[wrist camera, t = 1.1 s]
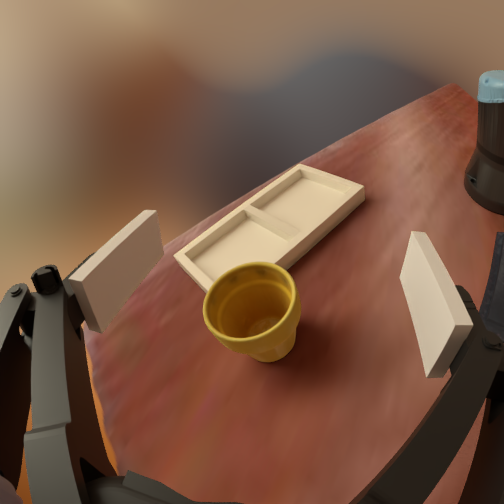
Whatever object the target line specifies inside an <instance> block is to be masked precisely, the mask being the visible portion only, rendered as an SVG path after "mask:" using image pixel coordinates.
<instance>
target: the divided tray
mask: <svg viewBox="0 0 504 504" xmlns="http://www.w3.org/2000/svg"><path fill="white" fill-rule="evenodd" d="M364 200H365V192H364V186H363V185H360V184H357V183H354V182H352V181H349V180H346V179H343V178H341V177H338V176H335V175H332V174H329V173H326V172H323V171H320V170H318V169H315V168H311V167H308V166H305V165H302V164H298V165H297V166H295V167H294V168H292V169H291V170H289V171H288V172H287V173H285V174H284V175H282V176H281V177H279V178H278V179H277V180H275V181H274V182H272V183H271V184H269V185H268V186H267V187H265V188H264V189H262V190H261V191H260V192H258V193H257V194H255V195H254V196H253V197H251V198H250V199H248V200H247V201H246V202H244V203H243V204H242V205H240V206H239V207H237V208H236V209H235V210H233V211H232V212H231V213H229V214H228V215H227V216H225V217H224V218H222V219H221V220H220V221H218V222H217V223H216V224H214V225H213V226H212V227H210V228H209V229H208V230H206V231H205V232H204V233H202V234H201V235H200V236H198V237H197V238H196V239H194V240H193V241H192V242H190V243H189V244H188V245H187V246H185V247H184V248H183V249H181V250H180V251H179V252H177V253H176V254H175V255H173V256H174V257H175V259H176V260H177V262H178V263H179V265H180V266H181V267H182V268H183V270H184V271H185V272H186V273H187V274H188V275H189V276H190V277H191V278H192V279H193V280H194V281H195V282H196V283H197V284H198V285H199V286H200V287H201V288H202V289H203V290H204V292H205V293H206V294H207V292H208V290H209V289H210V287H211V286H212V284H213V283H214V282H215V281H216V280H217V279H218V278H219V277H220V276H221V275H223V274H224V273H225V272H227V271H228V270H230V269H232V268H234V267H236V266H239V265H241V264H245V263H250V262H269V263H273V264H276V265H278V266H280V267H282V268H284V269H285V270H286V271H287V270H288V269H289V268H290V267H291V266H292V265H293V264H295V263H296V262H297V261H298V260H299V259H300V258H301V257H303V256H304V255H305V254H306V253H307V252H308V251H309V250H310V249H312V248H313V247H314V246H315V245H316V244H317V243H318V242H319V241H320V240H322V239H323V238H324V237H325V236H326V235H327V234H328V233H329V232H330V231H332V230H333V229H334V228H335V227H336V226H337V225H338V224H339V223H340V222H341V221H343V220H344V219H345V218H346V217H347V216H348V215H349V214H350V213H351V212H352V211H353V210H355V209H356V208H357V207H358V206H359V205H360V204H361V203H362V202H363V201H364Z"/></svg>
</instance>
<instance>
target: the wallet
mask: <svg viewBox="0 0 504 504" xmlns="http://www.w3.org/2000/svg"><path fill="white" fill-rule="evenodd" d="M479 314H480V316H481V319H482V321H483V323H484V325H485V327H486V329H487V330H488V331H491V332H493V333H495V334H496V335H498V336H499V337H500V339H501V340H502V341H503V343H504V232H497V236H496V241H495V247H494V253H493V259H492V265H491V270H490V275H489V279H488V283H487V287H486V290H485V294H484V298H483V301H482V304H481V307H480V310H479Z"/></svg>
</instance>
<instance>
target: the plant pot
mask: <svg viewBox="0 0 504 504" xmlns="http://www.w3.org/2000/svg"><path fill="white" fill-rule="evenodd" d="M203 316H204V320H205V323H206V325H207V327H208V328H209V330H210V331H211V332H212V333H213V335H214V336H215V337H216V338H217V339H218V340H219V341H220V342H221V343H222V344H223V345H224V346H226V347H227V348H229V349H230V350H232V351H235V352H238V353H242V354H247V355H249V356H251V357H252V358H254V359H256V360H258V361H261V362H273V361H276V360H279V359H281V358H283V357H284V356H286V355H287V354H288V353H289V352H290V350H291V349H292V347H293V345H294V343H295V338H296V327H297V325H298V322H299V320H300V316H301V302H300V297H299V293H298V290H297V287H296V284H295V282H294V280H293V278H292V277H291V275H290V274H289V273H288V272H287V271H286V270H285V269H284V268H282V267H280V266H278V265H276V264H273V263H269V262H250V263H245V264H241V265H239V266H236V267H234V268H232V269H230V270H228V271H227V272H225V273H224V274H223V275H221V276H220V277H219V278H218V279H217V280H216V281H215V282H214V283H213V284H212V286H211V287H210V289H209V290H208V292H207V294H206V297H205V300H204V304H203Z"/></svg>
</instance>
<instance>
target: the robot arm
mask: <svg viewBox="0 0 504 504" xmlns="http://www.w3.org/2000/svg"><path fill="white" fill-rule="evenodd" d="M477 98H478V131H477V145H476V149H475V151H474V153H473V155H472V157H471V159H470V162H469V164H468V166H467V168H466V171H465V178H464V185H465V188H466V191H467V192H468V194H469V195H470V196H471V197H472V198H473V199H474V200H475V201H476V202H477V203H478V204H480V205H481V206H483V207H485V208H486V209H488V210H490V211H493V212H495V213H499V214H502V215H504V71H502V70H495V71H488V72H485V73H483V74H482V75H481V77H480V79H479V94H478V96H477ZM163 255H164V251H163V246H162V240H161V234H160V228H159V222H158V215H157V211H156V210H144V211H143V212H142V213H140V214H139V215H138V216H137V217H136V218H135V219H133V220H132V221H131V222H130V223H129V224H127V225H126V226H125V227H124V228H123V229H122V230H121V231H119V232H118V233H117V234H116V235H115V236H114V237H112V239H110V240H109V241H108V242H107V243H106V244H105V245H104V246H103V247H101V248H100V249H99V250H98V251H97V252H95V253H93V254H91V255H89V256H88V257H87V258H86V259H85V260H84V261H83V263H81V264H80V265H79V266H78V268H75V269H74V270H73V271H72V272H71V273H70V274H69V275H68V276H67V277H66V278H65V279H64V280H63V281H62V280H61V277H60V274H59V272H58V269H57V267H56V266H55V265H46V266H43V267H41V268H39V269H37V270H36V271H35V272H34V273H33V274H32V276H31V279H32V281H33V283H34V286H35V288H36V291H37V292H33V293H32V292H31V293H30V291H29V289H28V286H27V285H26V284H24V283H23V284H22V283H20V284H16V285H15V286H12V287H11V288H10V289H9V290H8V291H7V293H6V294H5V296H4V298H3V300H2V302H1V303H0V504H23V501H22V499H21V498H20V497H19V496H18V495H16V490H17V486H18V482H19V478H20V473H21V465H22V457H23V448H24V449H25V459H26V467H27V474H28V481H29V487H30V493H31V498H32V503H33V504H242V503H237V502H195V501H192V500H190V499H188V498H186V497H184V496H183V495H181V494H179V493H177V492H176V491H174V490H172V489H171V488H169V487H167V486H166V485H164V484H162V483H161V482H158V481H155V480H153V479H150V478H147V477H144V476H142V475H139V474H137V473H134V472H131V471H129V470H128V472H127V474H126V476H117V474H116V472H115V470H114V468H113V467H112V465H111V463H110V462H109V460H108V457H107V454H106V450H105V447H104V443H103V439H102V435H101V432H100V427H99V423H98V418H97V414H96V409H95V405H94V400H93V394H92V389H91V383H90V377H89V371H88V365H87V358H86V351H85V342H84V333H83V329H82V327H81V324H82V323H83V321H84V320H85V321H86V323H87V325H88V328H89V330H92V331H95V332H99V333H103V332H104V331H105V329H106V328H107V327H108V325H109V324H110V323H111V321H112V320H113V319H114V317H115V316H116V315H117V313H118V312H119V311H120V309H121V308H122V307H123V305H124V304H125V303H126V302H127V300H128V299H129V298H130V296H131V295H132V294H133V293H134V291H135V290H136V289H137V287H138V286H139V285H140V284H141V282H142V281H143V280H144V279H145V277H146V276H147V275H148V274H149V272H150V271H151V270H152V269H153V267H154V266H155V265H156V264H157V263H158V261H159V260H160V259H161V258H162V256H163ZM400 280H401V283H402V286H403V290H404V293H405V296H406V299H407V303H408V306H409V310H410V313H411V317H412V320H413V324H414V328H415V332H416V335H417V339H418V343H419V348H420V352H421V356H422V360H423V365H424V369H425V374H426V378H441V377H444V375H445V373H446V372H447V370H448V369H449V367H450V371H451V375H452V376H451V377H450V379H449V380H448V382H447V383H446V385H445V386H444V388H443V389H442V390H441V392H440V395H439V396H438V398H437V399H436V401H435V402H434V404H433V405H432V407H431V408H430V410H429V411H428V412H427V414H426V415H425V417H424V418H423V419H422V421H421V422H420V424H419V425H418V426H417V428H416V429H415V430H414V432H413V433H412V434H411V436H410V437H409V438H408V439H407V441H406V442H405V443H404V444H403V446H402V447H401V448H400V449H399V451H398V452H397V453H396V454H395V455H394V456H393V458H392V459H391V460H390V461H389V462H388V463H387V465H386V466H385V467H384V468H383V469H382V470H381V471H380V472H379V473H378V475H377V476H376V477H375V478H374V479H373V480H372V481H371V482H370V483H369V484H368V485H367V486H366V487H365V488H364V489H363V490H362V491H361V492H360V493H359V494H358V495H357V496H356V497H355V498H354V499H353V500H352V501H351V502H350V503H349V504H423V502H424V501H425V500H426V499H427V497H428V496H429V495H430V493H431V492H432V490H433V489H434V488H435V486H436V485H437V483H438V482H439V480H440V479H441V477H442V476H443V475H444V473H445V471H446V470H447V468H448V467H449V465H450V464H451V462H452V460H453V459H454V457H455V456H456V454H457V452H458V451H459V449H460V447H461V445H462V444H463V442H464V440H465V438H466V436H467V435H468V433H469V431H470V429H471V427H472V425H473V423H474V421H475V419H476V417H477V415H478V413H479V411H480V409H481V407H482V405H483V403H484V400H485V398H487V399H486V405H485V411H484V416H483V421H482V426H481V430H480V435H479V439H478V443H477V447H476V451H475V454H474V458H473V461H472V465H471V468H470V471H469V474H468V477H467V480H466V483H465V486H464V489H463V492H462V495H461V497H460V500H459V503H458V504H504V344H503V341H502V340H501V339H500V337H499V336H498V335H496V334H495V333H493V332H491V331H488V330H487V329H486V327H485V325H484V323H483V321H482V319H481V316H480V314H479V312H478V310H476V306H475V304H474V303H473V300H472V298H471V296H470V295H469V293H468V292H467V291H466V290H465V289H464V288H463V287H462V286H459V285H454V283H453V281H452V279H451V277H450V275H449V273H448V272H447V270H446V268H445V266H444V264H443V262H442V260H441V259H440V257H439V255H438V253H437V252H436V250H435V248H434V246H433V245H432V243H431V241H430V240H429V238H428V236H427V235H426V233H425V232H417V231H412V232H411V236H410V240H409V244H408V248H407V252H406V256H405V260H404V264H403V267H402V271H401V274H400ZM19 326H20V327H21V329H22V330H23V332H22V334H21V335H20V332H19ZM30 404H31V405H32V423H33V424H32V425H33V426H32V427H33V428H32V430H31V431H27V432H26V426H27V420H28V415H29V409H30Z"/></svg>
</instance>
